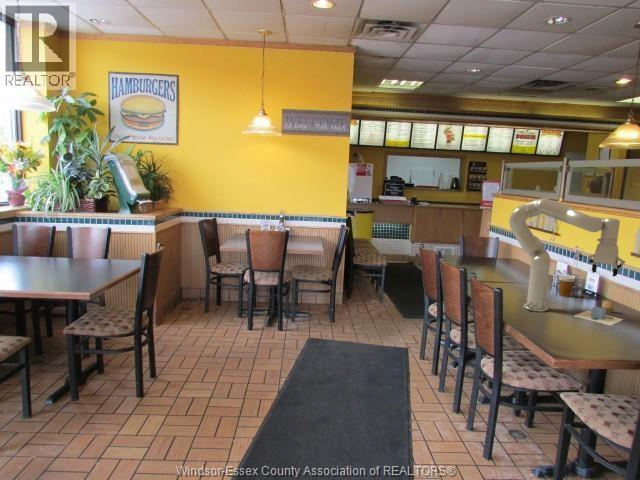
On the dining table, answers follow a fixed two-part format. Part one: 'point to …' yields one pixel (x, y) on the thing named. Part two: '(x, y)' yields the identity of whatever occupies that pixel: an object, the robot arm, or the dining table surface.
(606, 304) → the wood cylinder
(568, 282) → the disposable coffee cup
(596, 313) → the slate cube
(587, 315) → the letter mat
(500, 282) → the dining table surface
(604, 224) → the robot arm
